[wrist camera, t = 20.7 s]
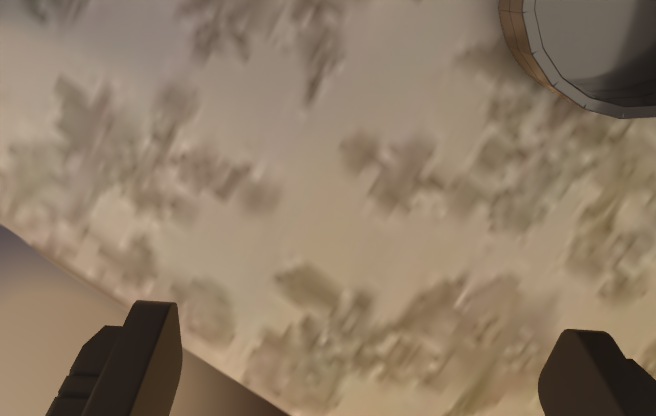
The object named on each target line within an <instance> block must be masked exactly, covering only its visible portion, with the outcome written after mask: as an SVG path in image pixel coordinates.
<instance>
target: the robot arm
mask: <svg viewBox="0 0 656 416" xmlns="http://www.w3.org/2000/svg"><path fill="white" fill-rule="evenodd" d="M181 368H182V344H181V335H180V325H179V316H178V308H177V304H176V303H174V302H159V301H143V300H137V301H136V302H135V303H134V304H133V306H132V308H131V310H130V312H129V314H128V316H127V318H126V320H125V323H124V325H123V327H122V326H104V327H103V328H102V329H101V330H100V331H99V332H98V333H97V334H95V335H94V336H93V337H92V338H91V339H90V340H89V341H88V342H87V343H86V344H84V345H83V347H82V349H81V351H80V352H79V354H78V356H77V358H76V360H75V362H74V364H73V365H72V367H71V369H70V373H69V376H67V377H66V378H65V380H64V382H63V384H62V386H61V388H60V389H59V391H58V393H59V394H58V396H57V397H55V399H54V401H53V402H52V404H51V406H50V408H49V410H48V412H47V414H46V416H169V414H170V410H171V407H172V404H173V400H174V397H175V394H176V390H177V387H178V384H179V380H180V375H181ZM538 394H539V399H540V403H541V406H542V408H543V411H544V413H545V416H656V380H655V379H654V378H653V377H652V376H650V375H649V374H648V373H647V372H646V371H645V370H644V369H643V368H642V367H641V366H639V365H638V364H637V363H636V362H635V361H634V360H633V359H626V358H625V356H624V355H623V353H622V352H621V350H620V349H619V347H618V346H617V344H616V342H615V341H614V339H613V338H612V337H611V336H610V335H609V334H608V333H606V332H604V331H592V330H577V329H566V330H564V331H563V332H562V333H561V335H560V337H559V339H558V341H557V342H556V344H555V346H554V348H553V350H552V352H551V354H550V356H549V358H548V360H547V362H546V364H545V366H544V368H543V370H542V372H541V374H540V377H539V381H538Z"/></svg>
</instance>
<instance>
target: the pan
mask: <svg viewBox="0 0 656 416" xmlns="http://www.w3.org/2000/svg"><path fill="white" fill-rule="evenodd" d="M499 15H500V21H501V26H502V30H503V33H504V37H505V40H506V42H507V44H508V46H509V48H510V51H511V53H512V54H513V56H514V57H515V59H516V60H517V62H518V63H519V65H520V66H521V67H522V68H523V69H524V70H525V72H526V73H527V74H528V75H529V76H530V77H532V78H533V79H534V80H536V81H537V82H538V83H540V84H541V85H543V86H544V87H546V88H547V89H548V90H550V91H551V92H553V93H554V94H556V95H558V96H560V97H562V98H564V99H566V100H568V101H570V102H571V103H573V104H575V105H577V106H579V107H581V108H583V109H585V110H589V111H593V112H596V113H600V114H604V115H607V116H611V117H615V118H618V119H632V118H652V117H656V0H499Z"/></svg>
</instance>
